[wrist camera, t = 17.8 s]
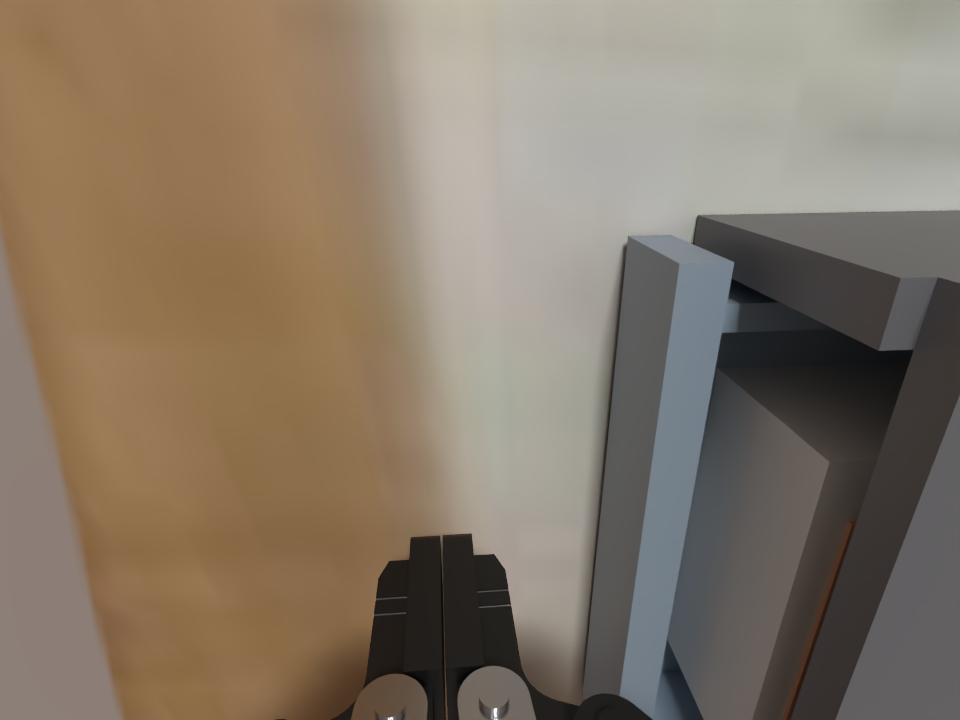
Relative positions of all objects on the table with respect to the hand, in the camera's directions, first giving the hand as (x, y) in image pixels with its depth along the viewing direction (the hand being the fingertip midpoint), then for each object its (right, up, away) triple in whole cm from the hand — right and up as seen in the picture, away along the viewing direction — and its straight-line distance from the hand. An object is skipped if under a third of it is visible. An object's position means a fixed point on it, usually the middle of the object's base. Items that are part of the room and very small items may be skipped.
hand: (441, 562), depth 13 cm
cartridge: (+9, +1, +2) cm, 9 cm away
